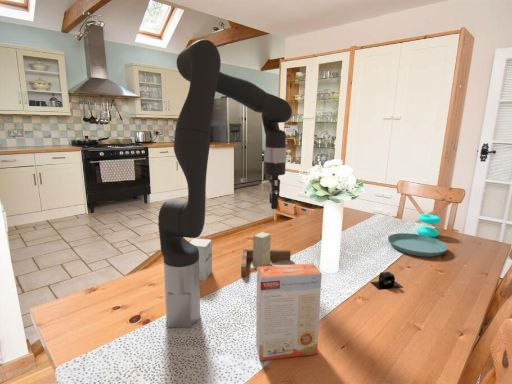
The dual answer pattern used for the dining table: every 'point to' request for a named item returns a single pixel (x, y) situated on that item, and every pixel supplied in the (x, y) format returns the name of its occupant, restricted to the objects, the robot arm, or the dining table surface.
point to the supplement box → (204, 256)
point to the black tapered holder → (386, 281)
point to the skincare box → (261, 249)
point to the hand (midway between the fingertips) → (273, 205)
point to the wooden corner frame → (274, 256)
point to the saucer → (417, 244)
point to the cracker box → (287, 310)
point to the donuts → (428, 230)
